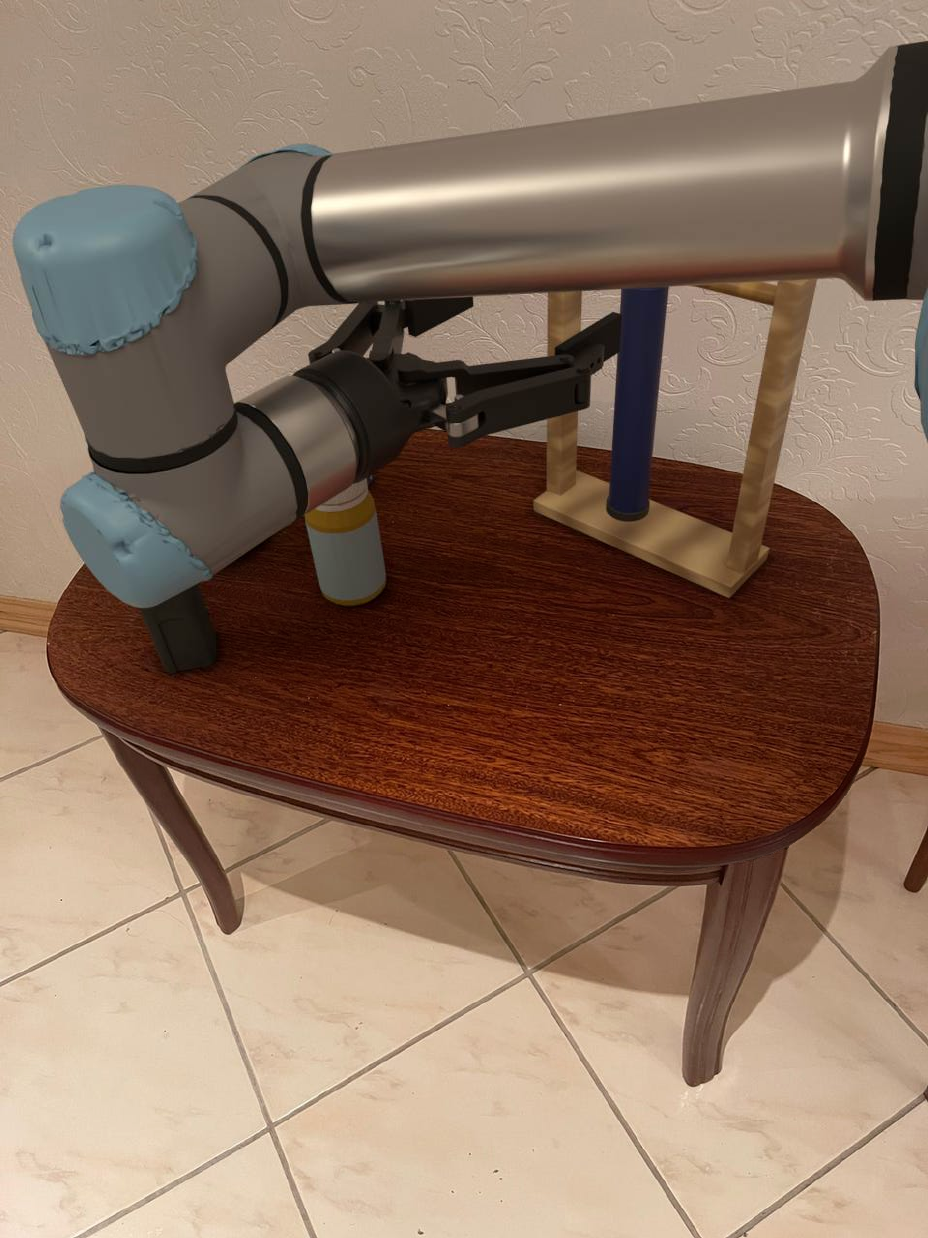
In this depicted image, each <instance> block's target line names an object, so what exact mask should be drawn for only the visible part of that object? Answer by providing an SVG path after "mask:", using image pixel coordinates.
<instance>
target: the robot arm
mask: <svg viewBox="0 0 928 1238" xmlns="http://www.w3.org/2000/svg"><path fill="white" fill-rule="evenodd" d="M13 230H14V231H13V235H12V249H13V254H14V257H15V260H16V264H17V267H18V270H19V274H20V281H21V284H22V286H23V289H24V292H25V295H26V298H27V300H28V301H27V302H28V304H29V306H30V309H31V317H32V321H33V323H34V326H35V329H36V331H37V333H38V334H39V336H40V337H41V339H42V340H43V342H44V344H45V346H46V348H47V351H48V353H49V356H50V357H51V360H52V362H53V364H54V366H55V370H56V372H57V373H58V376H59V378H60V380H61V383H62V385H63V387H64V390H65V392H66V394H67V397H68V398H69V401H70V403H71V405H72V408H73V410H74V412H75V416H76V417H77V419H78V422H79V424H80V427H81V429H82V433H83V434H84V439H85V442H86V445H87V453H88V456H89V459H90V462H91V464H92V470H93V471H89V472H88V473H86V474H84V475H82V477H81V478H80V479H79V480H77V481H75V482H74V483H73V484H72V485H70V486H69V487H67V488H66V489H65V490H64V491H63V493H62V495H61V496H60V500H59V509H60V511H61V515H62V524H63V527H64V529H65V532H66V534H67V536H68V538H69V540H70V542H71V543H72V546H73V547H74V549H75V550H76V552H77V554H78V556H80V559H81V560H82V562H83V563H84V565H85V566H86V567H87V569H88V570H89V571H90V572H91V574H92V575H93V576H94V577H95V578H96V579H97V581H98V582H99V583H100V584H101V585H102V587H104V589H106V590H107V591H108V592H109V593H110V594H111V595H112V596H114V597H116V598H117V599H118V600H120V601H121V602H123V603H124V604H126V605H128V606H131V607H134V608H138V609H139V608H149V607H153V606H156V605H158V604H160V603H162V602H164V601H166V600H168V599H169V598H171V597H173V596H175V595H177V594H179V593H181V592H183V591H184V590H186V589H188V588H190V587H192V586H194V585H196V584H198V585H199V583H202V582H208V581H209V580H211V579H212V578H213V577H214V575H216V574H217V573H218V572H220V571H222V570H223V569H225V568H226V567H228V566H229V565H230V564H232V563H233V562H235V561H236V560H237V559H239V558H240V557H242V556H243V555H245V554H246V553H248V552H249V551H251V550H252V549H254V548H255V547H257V546H258V545H260V544H261V543H263V542H264V541H266V540H267V539H268V538H271V537H272V536H273V535H275V534H276V533H278V532H280V531H281V530H283V529H284V528H285V527H289V526H291V525H292V524H294V523H296V522H297V521H300V519H302V518H303V517H304V515H305V514H307V513H309V512H310V511H312V510H314V509H315V508H317V507H318V506H320V505H322V504H323V503H325V502H327V501H328V500H330V499H332V498H333V497H335V496H337V495H338V494H340V493H342V492H343V491H345V490H346V489H348V488H349V487H350V486H351V485H352V484H355V483H359V482H361V481H363V480H364V479H366V478H367V477H369V476H371V475H372V474H373V475H374V474H376V473H377V472H379V471H380V470H382V469H383V468H385V467H387V466H388V465H390V464H392V463H393V462H395V461H396V460H397V459H398V458H399V457H400V456H401V454H402V452H403V450H404V448H405V446H406V445H407V443H408V442H409V440H410V438H411V437H412V436H413V435H414V434H416V433H418V432H421V431H424V430H429V429H432V428H435V427H436V428H438V429H440V430H442V431H444V432H446V433H447V442H448V443H447V444H448V446H449V447H451V448H453V449H460V448H464V447H467V446H468V445H470V444H472V443H475V442H476V441H477V440H479V439H481V438H484V437H485V436H488V435H493V434H497V433H501V432H503V431H507V430H512V429H515V428H519V427H523V426H526V425H530V424H531V425H532V424H535V423H538V422H541V421H545V420H546V421H547V419H550V418H553V417H557V416H561V415H565V414H569V413H572V412H576V411H578V412H579V411H583V410H586V409H589V408H590V406H591V393H592V392H591V389H592V376H593V375H594V374H596V373H597V372H599V371H601V370H602V369H603V367H604V363H605V362H606V361H608V360H610V359H611V358H613V357H615V356H616V355H617V353H619V352H620V341H621V325H622V314H620V312H617V311H616V312H615V311H612V312H610V313H609V314H606V315H605V316H604V317H602V318H600V319H599V320H597V321H595V322H593V323H592V324H590V325H588V327H586V328H584V329H581V332H579V333H577V334H576V335H574V336H572V337H571V338H569V339H567V340H566V341H564V342H563V343H561V344H559V345H558V346H556V347H555V356H547V355H546V356H540V357H531V358H524V359H516V360H505V361H499V362H491V363H490V362H489V363H481V364H474V365H468V364H466V363H465V362H464V360H461V359H454V360H453V359H452V360H446V361H437V362H436V361H433V360H428V359H423V358H421V357H419V356H418V355H417V354H414V353H412V352H406V353H402V352H403V347H404V340H405V335H406V334H405V329H406V328H407V334H408V335H407V336H411V337H414V338H417V337H419V336H421V335H423V334H424V333H427V332H428V331H430V330H432V329H434V328H436V327H439V326H440V325H441V324H444V323H446V322H448V321H449V320H451V319H453V318H455V317H456V316H459V315H460V314H463V313H464V312H466V311H468V310H470V309H472V308H473V307H475V306H474V297H475V298H476V297H477V298H478V297H494V296H495V297H496V296H512V295H513V296H514V295H532V294H533V295H534V294H535V295H536V294H548V293H555V292H575V291H582V292H591V291H612V290H613V291H614V290H621V289H634V288H654V287H669V288H671V287H673V288H674V287H688V286H690V287H694V286H693V285H713V284H732V283H752V282H765V283H769V282H770V283H771V282H778V281H791V280H811V279H817V280H828V279H839V280H842V281H844V282H845V283H846V284H847V285H848V286H849V287H850V288H851V289H852V290H854V292H855V293H857V295H858V296H860V297H861V298H862V299H863V301H865V302H875V301H876V302H877V301H879V302H880V301H898V300H899V301H900V300H901V301H902V300H907V301H922V304H921V308H920V313H919V319H918V324H917V327H916V333H915V341H914V383H913V385H914V389H915V391H916V394H917V397H918V399H919V404H920V424H921V427H922V430H923V433H924V437H925V439H926V442H927V443H928V40H924V41H917V42H916V41H915V42H910V43H904V44H897V45H891V46H888V48H887V49H886V50H885V51H884V52H883V53H882V54H881V55H880V56H879V58H878V59H877V60H876V61H875V62H874V63H873V64H872V65H871V66H870V68H869V69H867V71H866V72H865V73H864V74H862V75H861V76H859V77H858V78H857V79H855V80H852V81H851V80H850V81H843V82H837V83H830V84H823V85H815V86H808V87H801V88H793V89H787V90H780V91H772V92H766V93H765V92H764V93H758V94H757V93H756V94H751V95H744V96H737V97H736V96H735V97H729V98H723V99H716V100H715V99H714V100H707V101H701V102H694V103H685V104H680V105H671V106H666V107H658V108H651V109H644V110H643V109H642V110H637V111H628V112H621V113H616V114H615V113H614V114H607V115H600V116H594V117H587V118H580V119H572V120H565V121H559V122H558V121H557V122H551V123H545V124H544V123H542V124H537V125H530V126H521V127H516V128H507V129H502V130H501V129H500V130H495V131H486V132H480V133H479V132H478V133H472V134H465V135H458V136H457V135H456V136H452V137H450V136H449V137H443V138H436V139H429V140H421V141H414V142H408V143H400V144H393V145H385V146H379V147H371V148H364V149H358V150H351V151H350V150H349V151H343V152H336V153H333V152H331V151H329V150H327V149H325V148H323V147H321V146H318V145H315V144H312V143H292V144H287V145H286V146H283V147H281V148H278V149H274V150H270V151H267V152H263V153H260V154H257V155H254V156H252V157H251V158H249V160H248V161H247V162H246V163H244V164H242V165H241V166H240V167H239V168H237V169H236V170H234V171H232V172H231V173H229V174H227V175H225V176H224V177H222V178H220V179H218V180H217V181H215V182H213V183H212V184H209V185H208V186H207V187H205V188H203V189H201V190H200V191H197V192H196V193H194V194H193V195H191V196H189V197H187V198H186V199H183V200H181V201H177V200H176V199H175V198H174V197H173V196H172V195H170V194H169V193H167V192H166V191H164V190H161V189H159V188H157V187H150V186H146V185H135V184H114V185H104V186H103V185H102V186H97V187H90V188H85V189H80V190H78V191H77V192H75V193H73V194H68V195H63V196H55V197H53V198H51V199H48V200H46V201H43V202H41V203H39V204H37V205H36V206H34V207H32V208H31V209H30V210H29V211H27V212H26V213H25V214H24V215H23V216H22V217H21V218H20V219H19V221H18V222H17V224H16V226H15V228H14V229H13ZM379 302H384V304H380V303H379ZM356 304H357V305H356ZM340 305H356V306H355V307H354V309H353V310H351V312H350V313H349V315H348V316H347V317H346V318H345V319H344V320H343V321H342V323H341V324H340V325H339V326H338V328H337V329H336V330H335V332H333V333H332V334H331V336H330V337H329V338H328V340H327V341H325V342H324V343H322V344H320V345H319V346H317V347H315V348H314V349H312V350H310V351H309V352H308V353H307V356H308V362H309V364H307V365H306V366H304V367H302V368H300V369H298V370H296V371H295V372H294V373H293V374H292V375H286V376H282V377H280V378H278V379H277V380H275V381H273V382H271V383H269V384H267V385H266V386H264V387H262V388H260V389H258V390H256V391H254V392H252V393H251V394H249V395H246V396H245V397H242V398H241V399H239V400H237V401H235V402H234V399H233V395H232V391H231V386H230V383H229V382H230V381H229V379H228V374H227V365H228V364H230V363H232V361H234V360H235V359H236V358H238V357H239V356H240V355H242V353H244V352H245V351H246V350H247V349H249V348H250V347H251V346H252V345H254V344H255V343H256V342H257V341H259V340H260V339H261V338H262V337H264V336H265V335H267V334H268V333H269V332H270V331H272V330H273V329H274V328H275V327H276V326H278V325H279V324H280V323H282V322H283V321H284V320H285V319H287V318H288V317H290V316H291V315H293V313H295V312H296V311H298V310H300V309H303V308H307V307H318V306H319V307H321V306H340ZM370 348H371V350H370V351H369V349H370ZM368 351H369V354H368V357H365V354H366V353H367V352H368ZM448 378H453V379H454V385H455V396H454V397H453V398H454V399H453V401H451V402H447V400H448V396H449V388H448Z"/></svg>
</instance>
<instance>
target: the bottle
mask: <svg viewBox="0 0 928 1238" xmlns="http://www.w3.org/2000/svg"><path fill="white" fill-rule="evenodd" d="M303 518H304V521H305V526H306V531H307V535H308V539H309V544H310V545H309V546H310V549H311V553H312V556H313V562H314V566H315V572H316V576H317V581H318V586H319V588H320V593H321V595H322V596H323V597H324V598H325V599H326V600H328V601H330V602H331V603H333V604H336V605H337V606H343V607H356V606H361V605H365V604H367V603H369V602H371V601H373V600H374V599H375V598H377V597H378V595H380V594H381V593H382V592H383V590H384V589H385V587H386V583H387V574H386V573H387V572H386V567H385V566H386V565H385V560H384V554H383V547H382V546H383V545H382V540H381V533H380V527H379V521H378V514H377V507H376V502H375V499H374V497H373V495H372V494H371V492H370V490H369V486H368V485H367V478H366V479H364V480H363V481H361V482H359V483H355V484H352V485H351V486H350V487H349V488H348V489H346V490H345V491H343V492H342V493H340V494H338V495H337V496H335V497H333V498H332V499H330V500H328V501H327V502H325V503H323V504H322V505H320V506H318V507H317V508H315V509H314V510H312V511H310V512H309V513H307V514H305V515H304V516H303Z"/></svg>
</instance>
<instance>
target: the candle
mask: <svg viewBox="0 0 928 1238" xmlns="http://www.w3.org/2000/svg"><path fill="white" fill-rule="evenodd" d="M201 591H202V590H201V589H200V586H199V583H198V584H196V585H194V586H192V587H190V588H188V589H186V590H184V591H183V592H181V593H179V594H177V595H175V596H173V597H171V598H169V599H168V600H166V601H164V602H162V603H160V604H158V605H156V606H153V607H149V608H138V609H139V612H140V614H141V616H142V619H143V621H144V624H145V626H146V628H147V631H148V633H149V636H150V638H151V641H152V643H153V645H154V649H155V650H156V653H157V655H158V658H159V660H160V663H161V665H162V668H163V670H164V672H166V673H167V674H172V675H173V674H178V672H183V671H190V670H194V669H195V670H196V669H199V668H202V669H206V668H209V667H211V666H212V665H214V664H215V663H216V661H217V635H216V633H215V630H214V626H213V624H212V621H211V618H210V615H209V612H208V609H207V606H206V602H205V600H204V597H203V594H202V592H201Z"/></svg>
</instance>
